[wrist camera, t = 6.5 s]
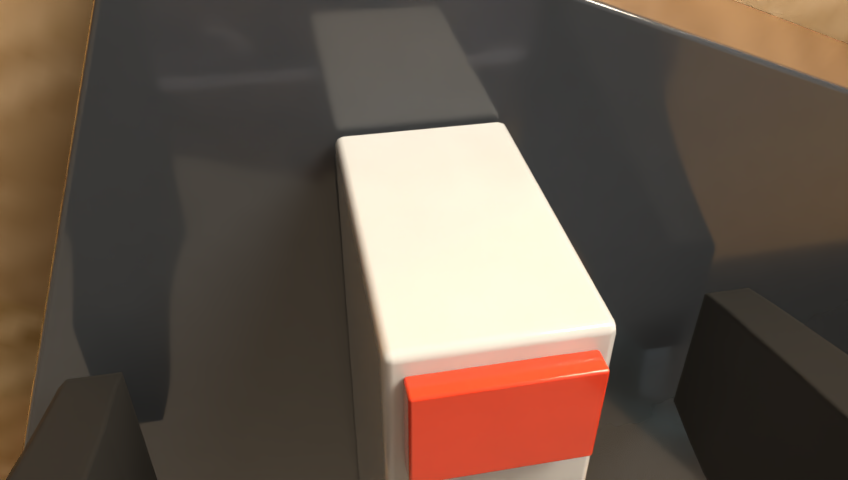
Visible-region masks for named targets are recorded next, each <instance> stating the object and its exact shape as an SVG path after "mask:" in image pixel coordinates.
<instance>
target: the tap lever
mask: <svg viewBox="0 0 848 480" xmlns="http://www.w3.org/2000/svg"><path fill="white" fill-rule="evenodd" d="M335 154H336V168H337V182H338V195H339V209H340V223H341V236H342V250H343V264H344V277H345V291H346V305H347V318H348V332H349V346H350V359H351V373H352V387H353V400H354V414H355V428H356V442H357V455H358V469H359V480H585V478H586V473H587V468H588V464H589V459H590V455H592V453H593V448H594V443H595V439H596V434H597V429H598V425H599V420H600V415H601V411H602V406H603V401H604V396H605V392H606V387H607V382H608V378H609V373H610V370H609V364H610V359H611V354H612V350H613V345H614V340H615V335H616V324H615V321H614V319H613V317H612V315H611V314H610V312H609V310H608V308H607V306H606V305H605V303H604V301H603V299H602V298H601V296H600V294H599V292H598V290H597V289H596V287H595V285H594V283H593V281H592V280H591V278H590V276H589V274H588V273H587V271H586V269H585V267H584V265H583V264H582V262H581V260H580V258H579V256H578V255H577V253H576V251H575V249H574V248H573V246H572V244H571V242H570V240H569V239H568V237H567V235H566V233H565V232H564V230H563V228H562V226H561V224H560V223H559V221H558V219H557V217H556V215H555V214H554V212H553V210H552V208H551V207H550V205H549V203H548V201H547V199H546V198H545V196H544V194H543V192H542V190H541V189H540V187H539V185H538V183H537V182H536V180H535V178H534V176H533V174H532V173H531V171H530V169H529V167H528V165H527V164H526V162H525V160H524V158H523V157H522V155H521V153H520V151H519V149H518V148H517V146H516V144H515V142H514V141H513V139H512V137H511V135H510V133H509V132H508V130H507V128H506V126H505V124H503V123H500V122H489V123H479V124H468V125H457V126H447V127H436V128H425V129H415V130H404V131H393V132H383V133H372V134H362V135H351V136H342V137H340V138H338V139H337V141H336V144H335Z"/></svg>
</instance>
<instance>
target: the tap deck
mask: <svg viewBox="0 0 848 480" xmlns="http://www.w3.org/2000/svg"><path fill="white" fill-rule="evenodd" d="M489 122H500V123H503V124H505V126H506V128H507V130H508V132H509V133H510V135H511V137H512V139H513V141H514V142H515V144H516V146H517V148H518V149H519V151H520V153H521V155H522V157H523V158H524V160H525V162H526V164H527V165H528V167H529V169H530V171H531V173H532V174H533V176H534V178H535V180H536V182H537V183H538V185H539V187H540V189H541V190H542V192H543V194H544V196H545V198H546V199H547V201H548V203H549V205H550V207H551V208H552V210H553V212H554V214H555V215H556V217H557V219H558V221H559V223H560V224H561V226H562V228H563V230H564V232H565V233H566V235H567V237H568V239H569V240H570V242H571V244H572V246H573V248H574V249H575V251H576V253H577V255H578V256H579V258H580V260H581V262H582V264H583V265H584V267H585V269H586V271H587V273H588V274H589V276H590V278H591V280H592V281H593V283H594V285H595V287H596V289H597V290H598V292H599V294H600V296H601V298H602V299H603V301H604V303H605V305H606V306H607V308H608V310H609V312H610V314H611V315H612V317H613V319H614V321H615V324H616V335H615V340H614V345H613V350H612V354H611V359H610V364H609V370H610V373H609V378H608V382H607V387H606V392H605V396H604V401H603V406H602V411H601V415H600V420H599V425H598V429H597V434H596V439H595V443H594V448H593V453H592V455H590V459H589V464H588V468H587V473H586V478H585V480H707V479H706V477H705V475H704V473H703V471H702V469H701V467H700V464H699V462H698V460H697V457H696V455H695V453H694V450H693V448H692V446H691V444H690V441H689V439H688V436H687V434H686V431H685V429H684V426H683V424H682V421H681V418H680V416H679V413H678V411H677V408H676V406H675V403H674V398H675V394H676V391H677V387H678V384H679V380H680V377H681V374H682V370H683V367H684V363H685V360H686V357H687V353H688V350H689V346H690V343H691V339H692V336H693V333H694V329H695V326H696V322H697V319H698V316H699V312H700V309H701V305H702V302H703V298H704V295H705V293H713V292H720V291H728V290H735V289H742V288H750V289H752V290H753V291H755V292H756V293H758V294H759V295H761V296H763V297H764V298H766V299H767V300H769V301H770V302H772V303H773V304H775V305H776V306H778V307H779V308H781V309H782V310H784V311H785V312H787V313H788V314H790V315H791V316H792V317H794V318H795V319H797V320H798V321H800V322H801V323H803V324H804V325H805V326H807V327H808V328H810V329H811V330H813V331H814V332H816V333H817V334H818V335H820V336H821V337H823V338H824V339H826V340H827V341H829V342H830V343H831V344H833V345H834V346H836V347H837V348H839V349H840V350H842V351H843V352H844V353H846V354H847V355H848V43H845V42H843V41H840V40H837V39H835V38H832V37H829V36H827V35H824V34H821V33H819V32H816V31H813V30H811V29H808V28H806V27H803V26H800V25H798V24H795V23H792V22H790V21H787V20H784V19H782V18H779V17H776V16H774V15H771V14H769V13H766V12H763V11H761V10H758V9H755V8H753V7H750V6H747V5H745V4H742V3H740V2H737V1H734V0H93V5H92V12H91V18H90V24H89V31H88V37H87V43H86V50H85V56H84V62H83V69H82V75H81V81H80V88H79V94H78V100H77V107H76V113H75V119H74V126H73V132H72V138H71V145H70V151H69V157H68V164H67V170H66V176H65V183H64V189H63V195H62V202H61V208H60V214H59V221H58V227H57V233H56V240H55V246H54V252H53V259H52V265H51V271H50V278H49V284H48V290H47V297H46V303H45V309H44V316H43V322H42V328H41V335H40V341H39V347H38V354H37V360H36V366H35V373H34V379H33V385H32V392H31V398H30V404H29V411H28V417H27V423H26V430H25V436H24V442H23V449H22V452H23V450H24V448H25V446H26V445H27V443H28V441H29V440H30V438H31V436H32V434H33V433H34V431H35V429H36V427H37V426H38V424H39V422H40V420H41V418H42V417H43V415H44V413H45V411H46V410H47V408H48V406H49V404H50V402H51V401H52V399H53V397H54V395H55V393H56V392H57V390H58V388H59V387H60V386H61V385H62V384H63V383H64V381H65V380H66V379H73V378H80V377H88V376H95V375H103V374H110V373H118V372H122V373H123V376H124V379H125V382H126V385H127V388H128V391H129V395H130V398H131V401H132V404H133V407H134V410H135V413H136V416H137V419H138V422H139V425H140V428H141V431H142V434H143V437H144V440H145V443H146V446H147V450H148V453H149V456H150V459H151V462H152V465H153V468H154V471H155V474H156V477H157V480H359V469H358V455H357V442H356V428H355V414H354V400H353V387H352V373H351V359H350V346H349V332H348V318H347V305H346V291H345V277H344V264H343V250H342V236H341V223H340V209H339V195H338V182H337V168H336V154H335V144H336V141H337V139H338V138H340V137H342V136H351V135H362V134H372V133H383V132H393V131H404V130H415V129H425V128H436V127H447V126H457V125H468V124H479V123H489Z"/></svg>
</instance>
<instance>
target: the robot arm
mask: <svg viewBox="0 0 848 480" xmlns="http://www.w3.org/2000/svg"><path fill="white" fill-rule="evenodd" d="M674 403H675V406H676V408H677V411H678V413H679V416H680V418H681V421H682V424H683V426H684V429H685V431H686V434H687V436H688V439H689V441H690V444H691V446H692V448H693V450H694V453H695V455H696V457H697V460H698V462H699V464H700V467H701V469H702V471H703V473H704V475H705V477H706V479H707V480H848V355H847V354H846V353H844V352H843V351H842V350H840V349H839V348H837V347H836V346H834V345H833V344H831V343H830V342H829V341H827V340H826V339H824V338H823V337H821V336H820V335H818V334H817V333H816V332H814V331H813V330H811V329H810V328H808V327H807V326H805V325H804V324H803V323H801V322H800V321H798V320H797V319H795V318H794V317H792V316H791V315H790V314H788V313H787V312H785V311H784V310H782V309H781V308H779V307H778V306H776V305H775V304H773V303H772V302H770V301H769V300H767V299H766V298H764V297H763V296H761V295H759V294H758V293H756V292H755V291H753V290H752V289H750V288H742V289H735V290H728V291H720V292H713V293H705V295H704V298H703V302H702V305H701V309H700V312H699V316H698V319H697V322H696V326H695V329H694V333H693V336H692V339H691V343H690V346H689V350H688V353H687V357H686V360H685V363H684V367H683V370H682V374H681V377H680V380H679V384H678V387H677V391H676V394H675V398H674ZM6 480H157V477H156V474H155V471H154V468H153V465H152V462H151V459H150V456H149V453H148V450H147V446H146V443H145V440H144V437H143V434H142V431H141V428H140V425H139V422H138V419H137V416H136V413H135V410H134V407H133V404H132V401H131V398H130V395H129V391H128V388H127V385H126V382H125V379H124V376H123V373H122V372H118V373H110V374H103V375H95V376H88V377H80V378H73V379H66V380H65V381H64V383H63V384H62V385H61V386H60V387H59V388H58V390H57V392H56V393H55V395H54V397H53V399H52V401H51V402H50V404H49V406H48V408H47V410H46V411H45V413H44V415H43V417H42V418H41V420H40V422H39V424H38V426H37V427H36V429H35V431H34V433H33V434H32V436H31V438H30V440H29V441H28V443H27V445H26V446H25V448H24V450H23V452H22V453H21V455H20V457H19V458H18V460H17V462H16V463H15V465H14V467H13V468H12V470H11V472H10V473H9V475H8V477H7V478H6Z"/></svg>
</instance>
